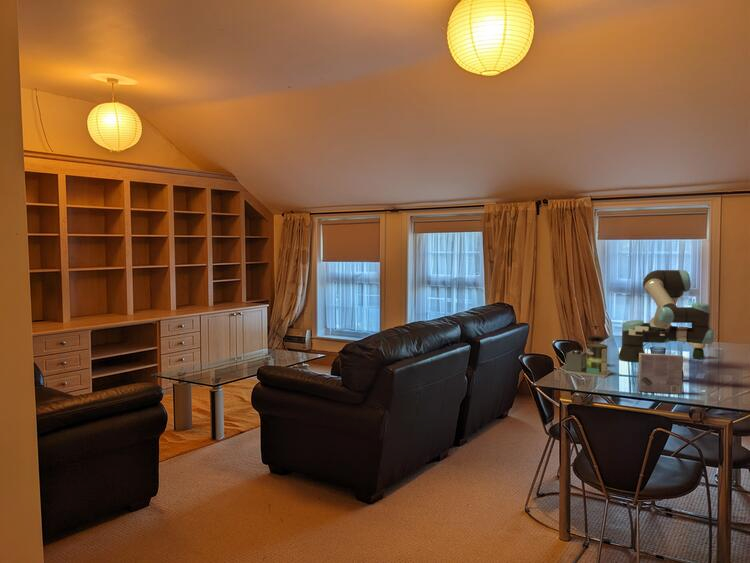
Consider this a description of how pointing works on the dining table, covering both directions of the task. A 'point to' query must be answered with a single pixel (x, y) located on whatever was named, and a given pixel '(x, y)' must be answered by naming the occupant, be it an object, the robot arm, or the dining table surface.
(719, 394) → the dining table surface
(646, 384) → the cake pan box
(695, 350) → the character mug
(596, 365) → the coffee can
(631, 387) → the dining table surface
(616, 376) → the dining table surface
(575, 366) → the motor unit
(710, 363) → the dining table surface
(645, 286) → the robot arm
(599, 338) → the french press
